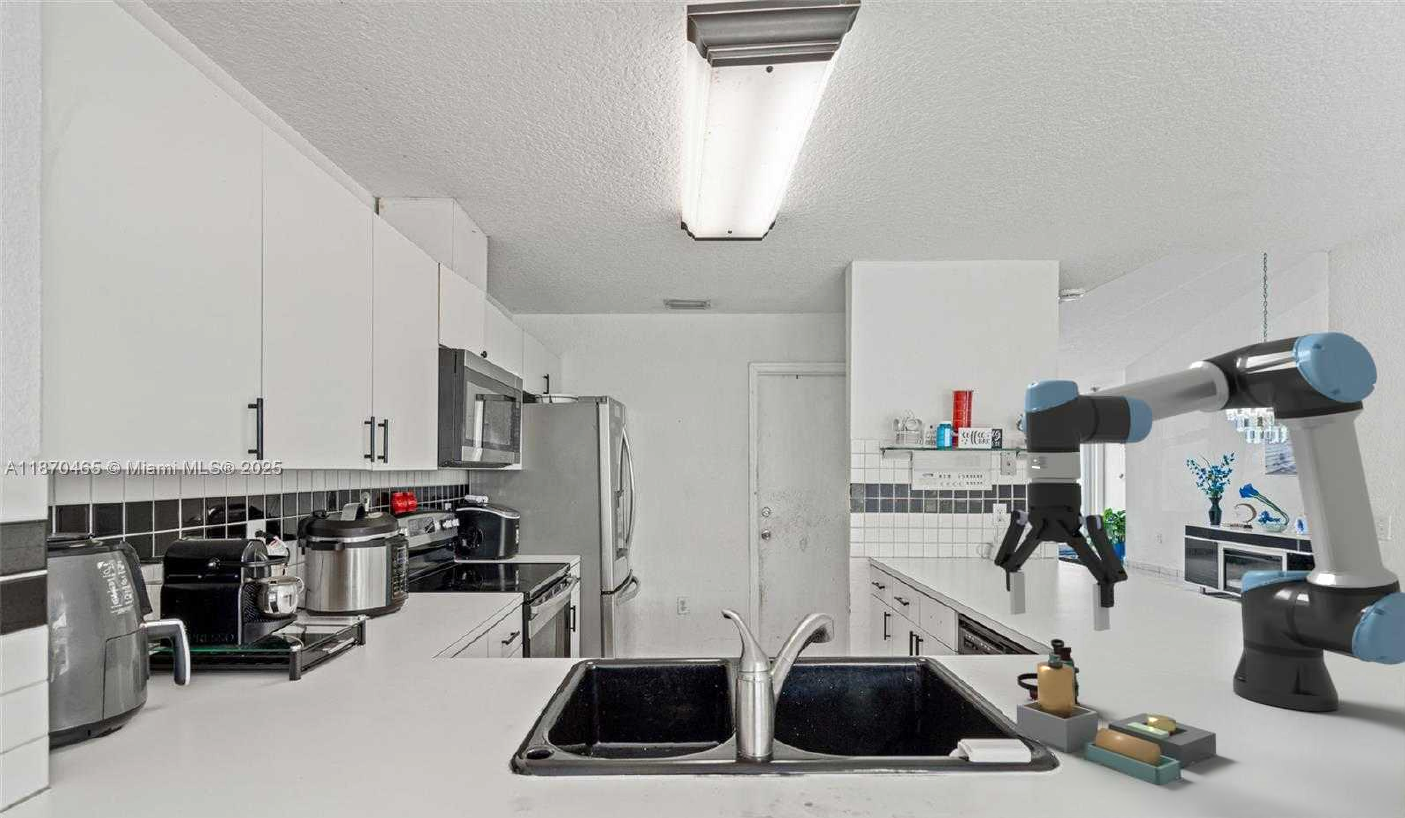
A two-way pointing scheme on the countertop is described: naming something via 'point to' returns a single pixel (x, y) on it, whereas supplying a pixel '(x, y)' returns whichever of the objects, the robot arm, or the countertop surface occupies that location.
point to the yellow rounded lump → (1162, 723)
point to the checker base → (1170, 739)
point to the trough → (1132, 757)
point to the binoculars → (1058, 654)
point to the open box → (1058, 727)
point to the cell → (1056, 689)
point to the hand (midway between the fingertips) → (1057, 621)
